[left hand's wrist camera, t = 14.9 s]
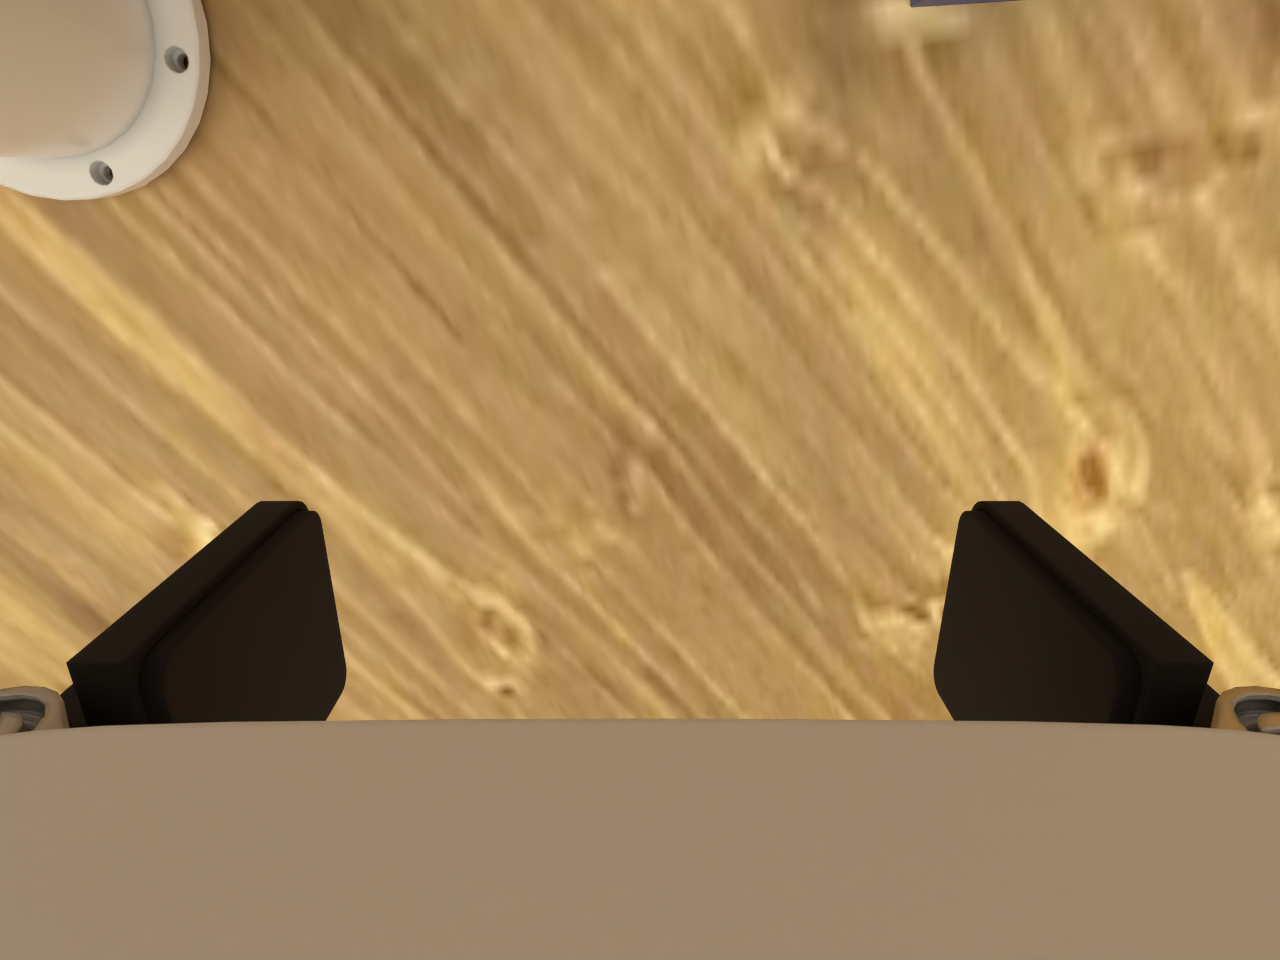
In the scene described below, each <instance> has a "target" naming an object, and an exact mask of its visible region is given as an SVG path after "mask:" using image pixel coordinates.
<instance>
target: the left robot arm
mask: <svg viewBox="0 0 1280 960" xmlns="http://www.w3.org/2000/svg"><path fill="white" fill-rule="evenodd" d="M186 56H188V61H189V64H188V68H187V69H186V67H185V66H184V63H183V60H184V57H186ZM210 63H211V58H210V47H209V37H208V27H207V22H206V18H205V14H204V10H203V6H202V3H201V0H0V185H2V186H5V187H8V188H11V189H14V190H17V191H19V192H22V193H25V194H28V195H32V196H38V197H45V198H51V199H58V200H92V199H99V198H105V197H112V196H119V195H122V194H124V193H127V192H129V191H132V190H135V189H137V188H140V187H142V186H145V185H146V184H148V183H149V182H151V181H152V180H154V179H155V178H156V177H158V176H159V175H161V174H162V173H164V172H165V171H166V170H168V169H169V167H170V166H171V165H172V164H173V163H174V162H175V161H176V160H177V158H178V157H179V156H180V155H181V154H182V153H183V152H184V150H185V149H186V148H187V146H188V144H189V142H190V140H191V138H192V136H193V135H194V133H195V131H196V129H197V127H198V125H199V123H200V120H201V116H202V113H203V109H204V106H205V102H206V99H207V95H208V88H209V75H210ZM110 169H111V170H112V173H113V177H112V176H111V174H110ZM67 666H68V669H69V672H70V675H71V678H72V681H73V684H72V685H71V686H70V687H69V688H68V689H67V690H65V691H64V692H63V693H62V694H61V695H59V693H58V692H56V691H53V690H51V689H48V688H45V687H33V686H21V687H13V688H5V689H0V960H1280V689H1275V688H1267V687H1259V686H1247V687H1235V688H1232V689H1229V690H1227V691H1224V692H1222V693H1221V695H1219V694H1218V693H1217V692H1216V691H1215V690H1213V689H1212V688H1211V687H1210V686H1209V685H1208V684H1207V681H1208V678H1209V675H1210V672H1211V669H1212V666H1213V662H1212V661H1211V660H1210V659H1209V658H1207V657H1206V656H1205V655H1204V654H1203V653H1201V652H1200V651H1199V650H1198V649H1197V648H1195V647H1194V646H1193V645H1192V644H1191V643H1189V642H1188V641H1187V640H1186V639H1185V638H1183V637H1182V636H1181V635H1180V634H1179V633H1178V632H1176V631H1175V630H1174V629H1173V628H1172V627H1170V626H1169V625H1168V624H1167V623H1166V622H1164V621H1163V620H1162V619H1161V618H1160V617H1158V616H1157V615H1156V614H1155V613H1154V612H1152V611H1151V610H1150V609H1149V608H1148V607H1147V606H1145V605H1144V604H1143V603H1142V602H1141V601H1139V600H1138V599H1137V598H1136V597H1135V596H1133V595H1132V594H1131V593H1130V592H1129V591H1127V590H1126V589H1125V588H1124V587H1123V586H1121V585H1120V584H1119V583H1118V582H1117V581H1115V580H1114V579H1113V578H1112V577H1111V576H1110V575H1108V574H1107V573H1106V572H1105V571H1104V570H1102V569H1101V568H1100V567H1099V566H1098V565H1096V564H1095V563H1094V562H1093V561H1092V560H1090V559H1089V558H1088V557H1087V556H1086V555H1084V554H1083V553H1082V552H1081V551H1080V550H1078V549H1077V548H1076V547H1075V546H1074V545H1073V544H1071V543H1070V542H1069V541H1068V540H1067V539H1065V538H1064V537H1063V536H1062V535H1061V534H1059V533H1058V532H1057V531H1056V530H1055V529H1053V528H1052V527H1051V526H1050V525H1049V524H1047V523H1046V522H1045V521H1044V520H1043V519H1042V518H1040V517H1039V516H1038V515H1037V514H1036V513H1034V512H1033V511H1032V510H1031V509H1030V508H1028V507H1027V506H1026V505H1025V504H1024V503H1022V502H1020V501H980V502H977V503H976V504H975V505H974V507H973V509H972V510H971V511H964V512H963V513H962V515H961V517H960V519H959V523H958V529H957V535H956V540H955V546H954V552H953V558H952V564H951V570H950V575H949V581H948V587H947V593H946V599H945V605H944V610H943V616H942V622H941V628H940V634H939V640H938V645H937V651H936V657H935V663H934V681H935V686H936V689H937V691H938V694H939V695H940V697H941V699H942V700H943V702H944V704H945V706H946V707H947V709H948V711H949V712H950V714H951V716H952V718H953V719H954V721H918V720H800V719H455V720H361V721H326V719H327V718H328V716H329V714H330V712H331V711H332V709H333V707H334V706H335V704H336V702H337V700H338V699H339V697H340V695H341V694H342V691H343V689H344V686H345V681H346V663H345V657H344V651H343V645H342V640H341V634H340V628H339V622H338V616H337V610H336V605H335V599H334V593H333V587H332V581H331V575H330V570H329V564H328V558H327V552H326V546H325V540H324V535H323V529H322V523H321V519H320V517H319V515H318V513H317V512H316V511H309V510H308V509H307V507H306V505H305V504H304V503H303V502H300V501H260V502H258V503H256V504H255V505H254V506H253V507H252V508H250V509H249V510H248V511H247V512H246V513H244V514H243V515H242V516H241V517H240V518H239V519H237V520H236V521H235V522H234V523H233V524H231V525H230V526H229V527H228V528H227V529H225V530H224V531H223V532H222V533H221V534H219V535H218V536H217V537H216V538H215V539H213V540H212V541H211V542H210V543H209V544H207V545H206V546H205V547H204V548H203V549H202V550H200V551H199V552H198V553H197V554H196V555H194V556H193V557H192V558H191V559H190V560H188V561H187V562H186V563H185V564H184V565H182V566H181V567H180V568H179V569H178V570H176V571H175V572H174V573H173V574H172V575H170V576H169V577H168V578H167V579H166V580H165V581H163V582H162V583H161V584H160V585H159V586H157V587H156V588H155V589H154V590H153V591H151V592H150V593H149V594H148V595H147V596H145V597H144V598H143V599H142V600H141V601H139V602H138V603H137V604H136V605H135V606H133V607H132V608H131V609H130V610H129V611H128V612H126V613H125V614H124V615H123V616H122V617H120V618H119V619H118V620H117V621H116V622H114V623H113V624H112V625H111V626H110V627H108V628H107V629H106V630H105V631H104V632H102V633H101V634H100V635H99V636H98V637H97V638H95V639H94V640H93V641H92V642H91V643H89V644H88V645H87V646H86V647H85V648H83V649H82V650H81V651H80V652H79V653H77V654H76V655H75V656H74V657H73V658H71V659H70V660H69V661H68V662H67Z"/></svg>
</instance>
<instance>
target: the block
mask: <svg viewBox="0 0 1280 960" xmlns="http://www.w3.org/2000/svg"><path fill="white" fill-rule="evenodd" d="M1001 1H1017V0H911V7H924V6H939V5H955V4H970V3H986V2H1001Z"/></svg>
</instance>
